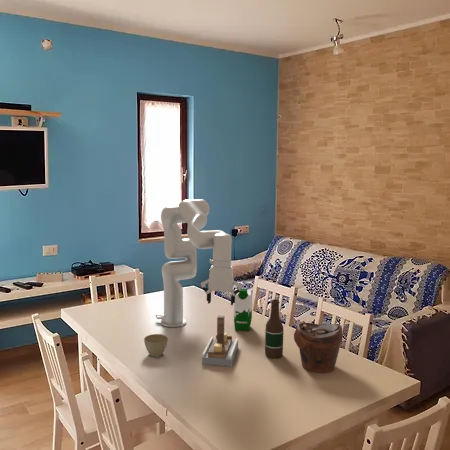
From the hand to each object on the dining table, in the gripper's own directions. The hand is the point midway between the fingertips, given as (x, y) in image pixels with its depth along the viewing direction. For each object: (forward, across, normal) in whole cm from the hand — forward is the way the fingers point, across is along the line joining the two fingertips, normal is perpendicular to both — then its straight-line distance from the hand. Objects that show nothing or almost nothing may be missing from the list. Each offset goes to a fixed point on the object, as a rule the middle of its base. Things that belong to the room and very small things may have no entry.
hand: (220, 303), depth 202 cm
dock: (+23, +1, -1) cm, 23 cm away
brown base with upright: (+20, 0, -1) cm, 20 cm away
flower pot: (+23, -26, -5) cm, 35 cm away
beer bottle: (+22, +23, +4) cm, 32 cm away
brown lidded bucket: (+22, +41, -4) cm, 46 cm away
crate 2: (+18, 0, +6) cm, 19 cm away
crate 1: (+18, 0, -7) cm, 20 cm away
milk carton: (+23, +6, +34) cm, 42 cm away
